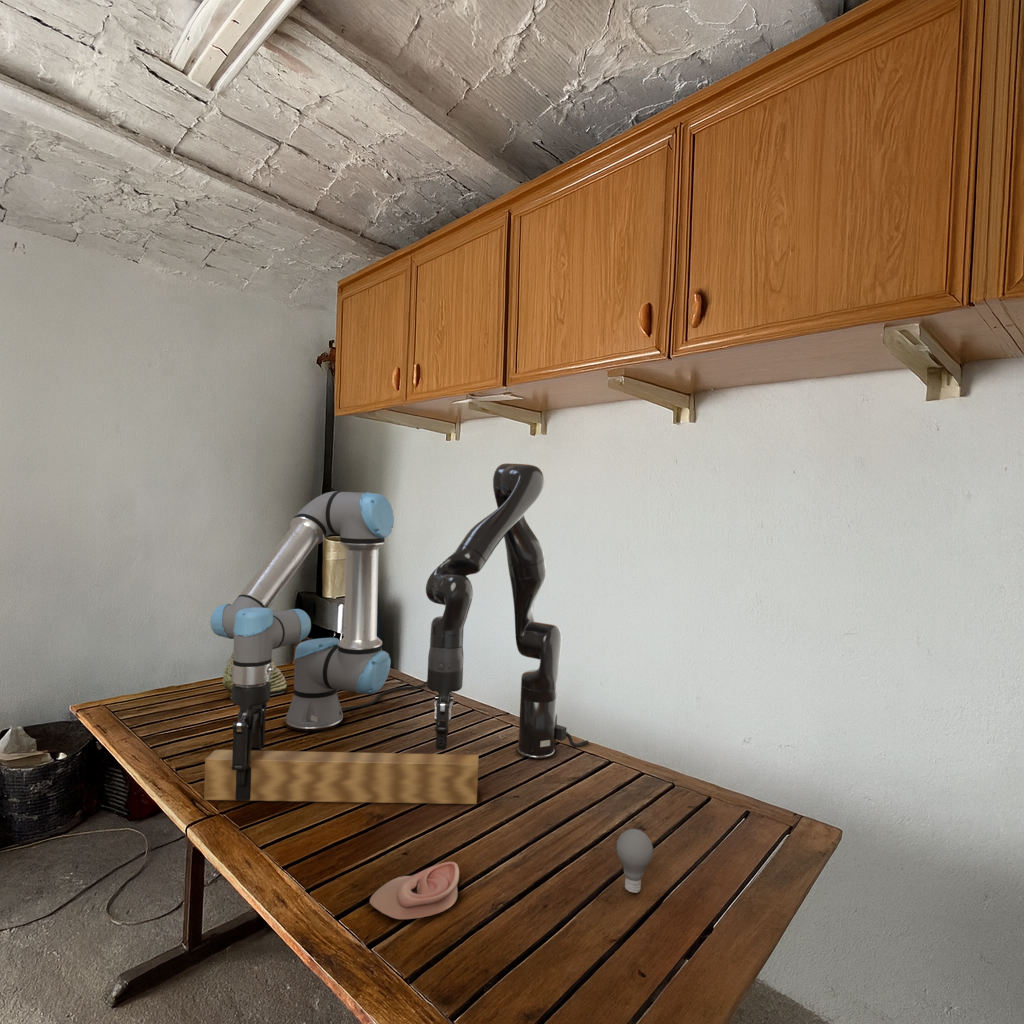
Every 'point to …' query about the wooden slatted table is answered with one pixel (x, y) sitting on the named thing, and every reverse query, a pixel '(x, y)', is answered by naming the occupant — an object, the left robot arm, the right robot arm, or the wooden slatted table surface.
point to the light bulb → (634, 857)
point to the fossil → (276, 681)
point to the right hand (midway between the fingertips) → (442, 741)
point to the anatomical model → (419, 893)
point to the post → (347, 777)
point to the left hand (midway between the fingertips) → (247, 792)
